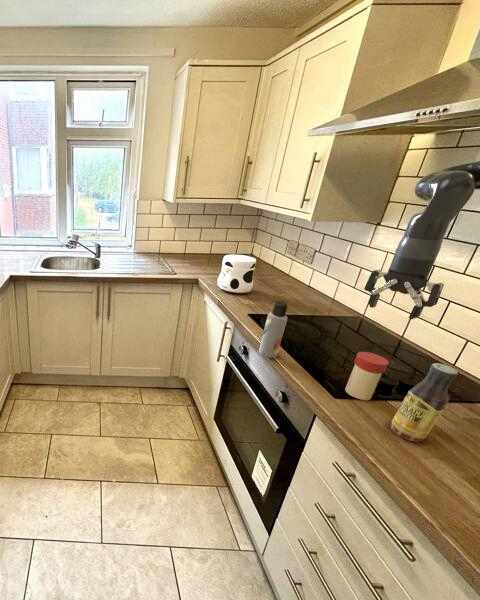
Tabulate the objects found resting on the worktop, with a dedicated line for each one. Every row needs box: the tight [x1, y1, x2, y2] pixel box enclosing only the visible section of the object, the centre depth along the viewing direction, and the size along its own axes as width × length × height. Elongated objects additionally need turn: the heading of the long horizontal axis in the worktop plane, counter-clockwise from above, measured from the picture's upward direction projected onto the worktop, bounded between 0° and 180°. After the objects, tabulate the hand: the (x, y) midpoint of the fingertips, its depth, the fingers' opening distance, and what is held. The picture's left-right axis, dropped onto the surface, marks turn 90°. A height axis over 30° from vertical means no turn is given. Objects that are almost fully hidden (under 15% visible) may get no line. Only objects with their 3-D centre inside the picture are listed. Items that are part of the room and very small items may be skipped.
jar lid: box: [353, 351, 390, 374], centre depth 88 cm, size 7×7×3 cm
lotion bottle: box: [258, 300, 289, 359], centre depth 108 cm, size 6×6×20 cm
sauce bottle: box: [389, 362, 459, 443], centre depth 74 cm, size 7×6×20 cm
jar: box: [344, 363, 383, 401], centre depth 90 cm, size 6×6×11 cm
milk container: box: [217, 254, 257, 295], centre depth 167 cm, size 17×17×18 cm
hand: (391, 312), depth 87 cm, fingers open, 8 cm apart
